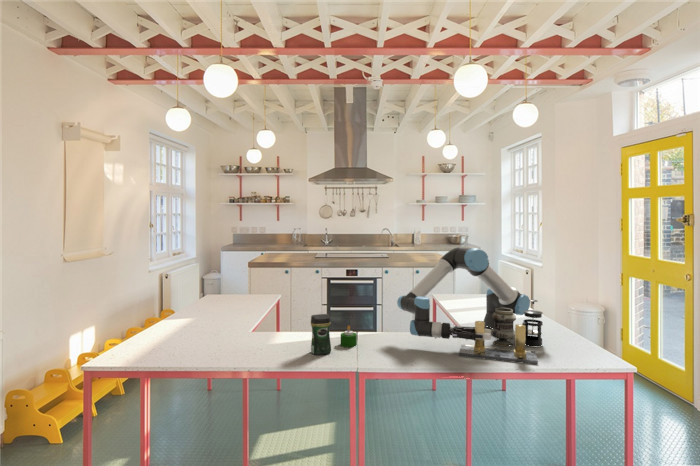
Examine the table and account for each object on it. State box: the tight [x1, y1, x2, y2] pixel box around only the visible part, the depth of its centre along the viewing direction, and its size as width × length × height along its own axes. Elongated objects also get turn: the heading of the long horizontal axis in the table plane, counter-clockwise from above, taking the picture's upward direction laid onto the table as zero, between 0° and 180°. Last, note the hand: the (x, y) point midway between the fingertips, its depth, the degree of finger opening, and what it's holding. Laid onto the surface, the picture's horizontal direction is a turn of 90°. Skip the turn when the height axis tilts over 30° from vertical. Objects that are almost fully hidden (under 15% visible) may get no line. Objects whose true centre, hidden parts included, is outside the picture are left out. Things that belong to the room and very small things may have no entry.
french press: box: [521, 299, 544, 347], centre depth 213 cm, size 12×9×23 cm
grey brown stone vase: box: [490, 308, 517, 347], centre depth 214 cm, size 12×12×18 cm
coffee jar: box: [310, 313, 332, 356], centre depth 200 cm, size 10×8×19 cm
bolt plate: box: [458, 323, 539, 365], centre depth 196 cm, size 34×14×15 cm, turn 70°
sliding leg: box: [474, 320, 486, 353], centre depth 197 cm, size 5×8×14 cm, turn 160°
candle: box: [340, 325, 358, 348], centre depth 212 cm, size 8×8×10 cm
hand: (490, 334), depth 197 cm, fingers open, 7 cm apart
